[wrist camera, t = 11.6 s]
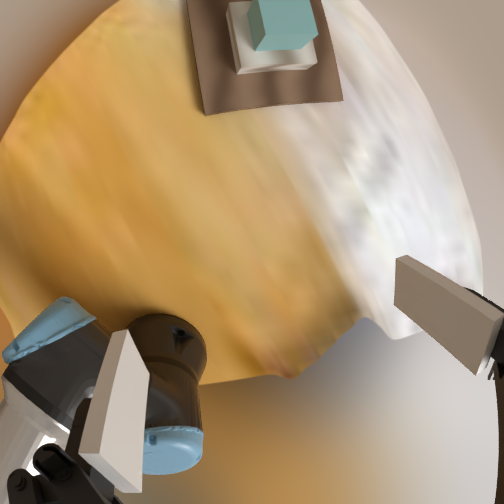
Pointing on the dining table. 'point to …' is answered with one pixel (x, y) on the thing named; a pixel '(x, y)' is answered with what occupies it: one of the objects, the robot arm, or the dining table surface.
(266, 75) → the base
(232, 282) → the dining table surface
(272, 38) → the cube
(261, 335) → the dining table surface
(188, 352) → the robot arm
